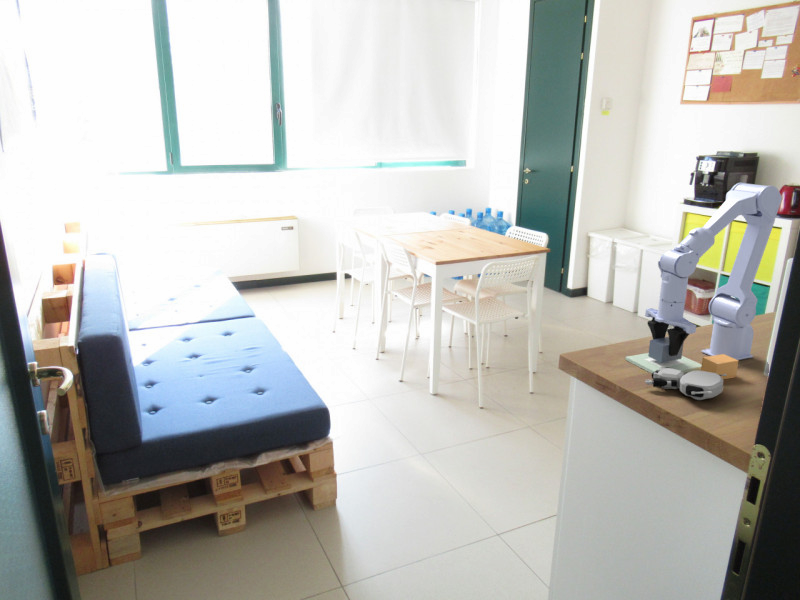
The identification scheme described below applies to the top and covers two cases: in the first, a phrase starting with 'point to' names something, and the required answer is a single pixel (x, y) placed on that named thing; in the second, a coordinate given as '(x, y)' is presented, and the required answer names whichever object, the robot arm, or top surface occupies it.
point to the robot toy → (688, 382)
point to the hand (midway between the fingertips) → (665, 351)
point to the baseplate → (663, 363)
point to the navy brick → (662, 350)
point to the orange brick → (720, 365)
